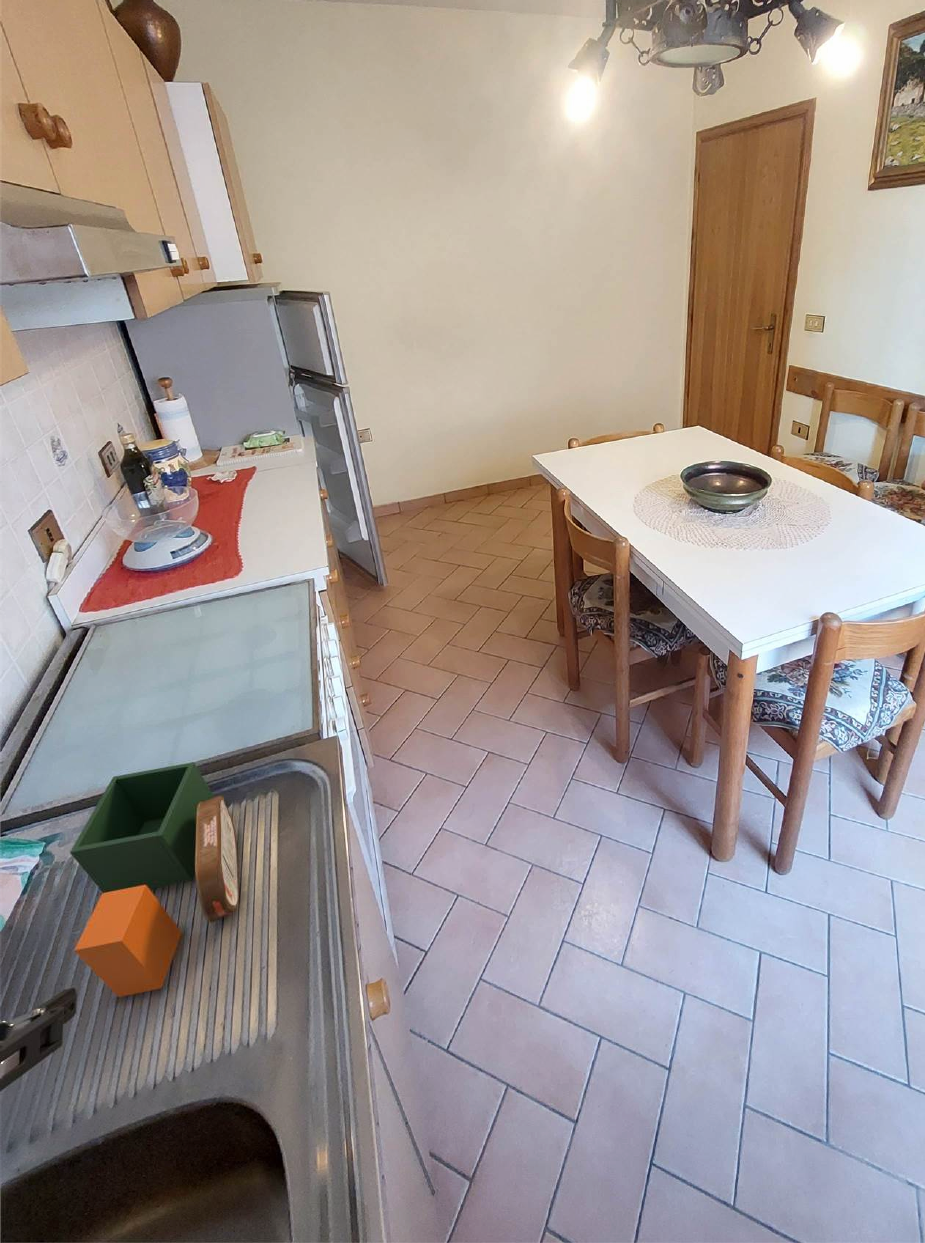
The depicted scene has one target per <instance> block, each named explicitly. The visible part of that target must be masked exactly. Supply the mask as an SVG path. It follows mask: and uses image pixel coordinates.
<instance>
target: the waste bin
mask: <svg viewBox="0 0 925 1243" xmlns="http://www.w3.org/2000/svg"><path fill="white" fill-rule="evenodd" d="M212 798H215V796H214V794H213V792H212V791H211V789H210V787H209V786H208V784H207V781H206V780H205V779H204V777H203V775H202V774H201V772H200V770H199V768H198V766H197V765H196V763H195V762H194V761H192V762H187V763H186V762H185V763H181V764H176V765H169V766H165V767H158V768H154V769H153V768H152V769H148V770H141V771H136V772H131V773H127V774H126V773H125V774H121V775H116V776H113V777H112V778H111V780H110V782H109V784H108V785H107V787H106V788H105V791H104V792H103V794H102V796H101V798H100V799H99V801H98V803H97V804H96V806H95V808H94V809H93V811H92V813H91V814H90V816H89V818H88V820H87V822H86V823H85V825H84V827H83V829H82V830H81V832H80V834H79V835H78V837H77V839H76V840H75V842H74V844H73V846H72V847H71V849H70V850H69V854H70V855H71V856H72V857H73V859H74V860H75V861H76V862H77V863H78V864H79V866H80V867H81V868H82V869H83V871H84V872H85V873H86V874H87V875H88V877H89V878H90V879H91V880H92V881H93V883H94V884H95V885H96V886H97V887H98V889H99V890H100V891H101V892H102V893H106V892H111V891H116V890H121V889H127V888H132V887H137V886H142V885H147V887H148V888H149V889H150V890H151V889H156V888H160V887H166V886H170V885H176V884H180V883H181V884H182V883H185V882H191V881H193V879H194V877H195V875H196V874H195V850H196V815H197V807H198V804H199V803H200V802H204V801H207V800H210V799H212Z"/></svg>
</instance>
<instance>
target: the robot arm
mask: <svg viewBox="0 0 925 1243" xmlns="http://www.w3.org/2000/svg"><path fill="white" fill-rule="evenodd" d="M77 1001H78V993H77V990H76V987H70V988H65V989H63V990H61V991H60V992H58V993H57V994H55V995H54V996H52V997H50V998H49V999H48V1000H46V1001H45V1002H43V1003H42V1004H41V1005H39V1006H37V1007H36V1008H34V1009H32V1010H31V1011H29V1012H27V1013H25V1014H22V1015H20V1016H17V1017H16V1018H13V1019H11V1020H9V1021H6V1020H5V1019H2V1018H0V1092H2V1091H3V1090H4V1089H6V1088H7V1087H8V1086H10V1085H12V1083H14V1082H15V1081H17V1080H18V1079H19V1078H21V1077H22V1076H23V1075H24V1074H26V1073H27V1072H29V1071H30V1070H31V1069H33V1068H34V1067H36V1066H37V1065H38V1064H39V1063H42V1061H43V1060H45V1059H46V1058H47V1057H49V1056H51V1054H53V1053H54V1052H55V1051H57V1050H58V1049H60V1048H62V1046H63V1044H64V1043H63V1040H64V1025H65V1024H66V1023H68V1022H69V1021H71V1020H72V1019H73V1017H75V1016H76V1014H77V1007H78V1006H77V1004H78V1002H77ZM13 1032H14V1033H13ZM11 1033H12V1034H11ZM10 1034H11V1035H10ZM9 1035H10V1036H9Z"/></svg>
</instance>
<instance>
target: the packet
mask: <svg viewBox="0 0 925 1243" xmlns="http://www.w3.org/2000/svg"><path fill="white" fill-rule="evenodd" d="M182 934H183V932H182V930H181V929H180V928H179V927H178V925H177V924H176V922H175V920H173V918H172V917H171V916H170V914H169V913H168V912H167V910H166V909H165V908H164V906H163V905H162V904H161V903H160V901H159V900H158V898H157V897H156V896H155V895H154V893H153V892H152V890H151V889H149V888H148V887H147V885H142V886H137V887H132V888H127V889H121V890H116V891H111V892H106V893H103V892H102V893H101V895H100V897H99V899H98V901H97V903H96V905H95V907H94V909H93V911H92V913H91V915H90V917H89V919H88V921H87V923H86V926H85V927H84V930H82V933H81V935H80V937H79V939H78V941H77V943H76V945H75V947H74V949H73V952H75V953H76V955H77V956H78V957H79V958H80V959H81V960H82V961H83V962H84V963H85V964H86V965H87V966H88V967H89V969H90V970H92V971H93V972H94V973H95V975H96V976H97V977H99V978H100V980H101V981H102V982H103V983H104V984H105V985H106V986H107V987H108V988H109V989H110V990H111V992H113V994H115V995H116V996H117V998H123V997H127V996H131V995H136V994H141V993H146V992H150V991H151V992H152V991H155V990H159V989H163V986H164V984H165V982H166V978H167V976H168V973H169V970H170V967H171V965H172V962H173V958H174V956H175V954H176V951H177V948H178V945H179V942H180V939H181V938H182Z"/></svg>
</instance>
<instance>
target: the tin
mask: <svg viewBox="0 0 925 1243" xmlns="http://www.w3.org/2000/svg"><path fill="white" fill-rule="evenodd" d="M194 875H195V882H196V888H197V894H198V899H199V902H200V906H201V909H202V912H203V915H204V917H205V918H206V920H207V921H208V922H209V924H213V923H215V922H216V921H218V920H220V919H222V918H225V917H227V916H229V915H231V914H232V913H234V912H235V911H236V910H237V908H238V906H239V866H238V844H237V836H236V829H235V825H234V820H233V817H232V815H231V812H230V811H229V809H228V806H227V804H226V801H225V797H224V796H222V795H219V796H214V798H212V799H210V800H207V801H204V802H200V803H199V804H198V807H197V815H196V850H195V874H194Z"/></svg>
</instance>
